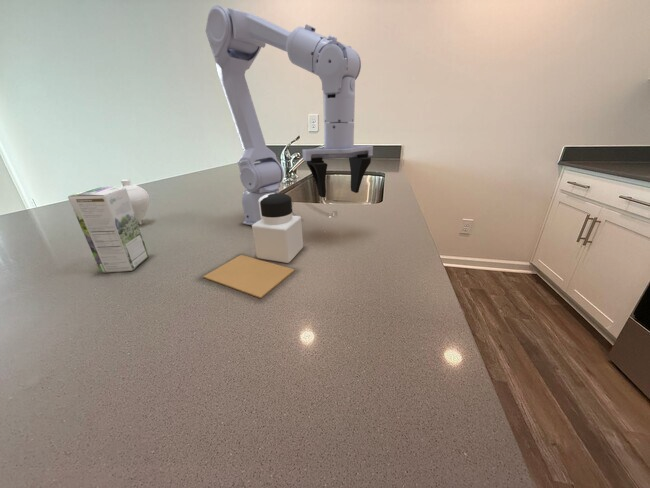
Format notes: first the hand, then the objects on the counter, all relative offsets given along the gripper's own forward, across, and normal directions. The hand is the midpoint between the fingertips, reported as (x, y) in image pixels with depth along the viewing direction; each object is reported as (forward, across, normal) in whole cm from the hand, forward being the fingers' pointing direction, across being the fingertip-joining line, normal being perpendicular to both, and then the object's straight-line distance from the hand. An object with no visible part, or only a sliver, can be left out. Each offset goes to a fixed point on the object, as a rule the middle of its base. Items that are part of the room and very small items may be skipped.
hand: (338, 193), depth 54 cm
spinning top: (+10, -44, +32) cm, 56 cm away
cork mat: (+10, -21, -7) cm, 24 cm away
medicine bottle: (+10, -14, -2) cm, 17 cm away
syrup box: (+10, -42, +7) cm, 44 cm away
